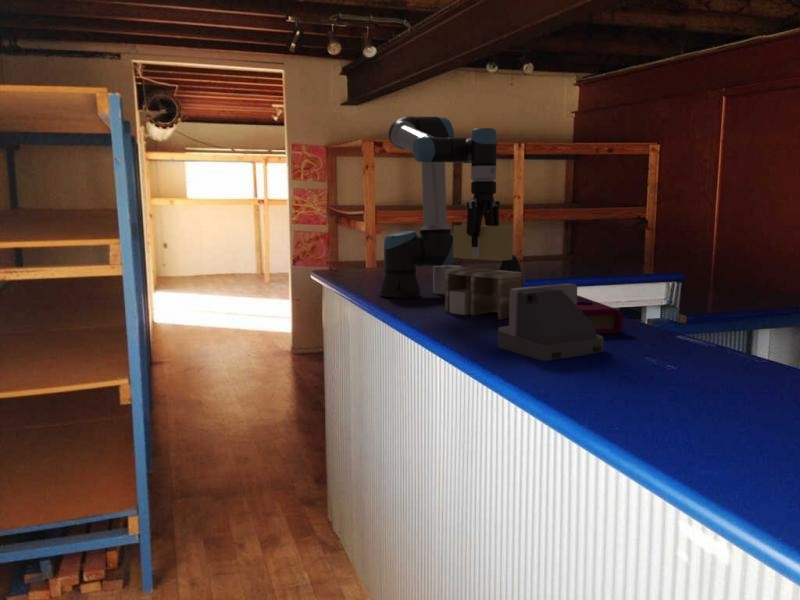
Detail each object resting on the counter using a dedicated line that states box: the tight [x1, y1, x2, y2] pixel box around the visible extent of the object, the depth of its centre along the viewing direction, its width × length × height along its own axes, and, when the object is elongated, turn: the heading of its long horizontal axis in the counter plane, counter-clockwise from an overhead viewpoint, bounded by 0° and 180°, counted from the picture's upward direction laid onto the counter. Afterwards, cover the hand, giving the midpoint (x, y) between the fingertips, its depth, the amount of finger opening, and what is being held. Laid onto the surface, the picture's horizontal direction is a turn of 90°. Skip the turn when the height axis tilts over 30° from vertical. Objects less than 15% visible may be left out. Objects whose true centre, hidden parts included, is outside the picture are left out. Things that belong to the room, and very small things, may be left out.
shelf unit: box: [444, 266, 523, 320], centre depth 213 cm, size 22×10×13 cm, turn 46°
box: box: [448, 288, 471, 316], centre depth 215 cm, size 6×8×7 cm
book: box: [577, 294, 623, 335], centre depth 193 cm, size 21×28×8 cm
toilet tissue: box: [432, 264, 470, 295], centre depth 259 cm, size 11×12×10 cm
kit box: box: [452, 224, 514, 262], centre depth 210 cm, size 6×18×10 cm, turn 46°
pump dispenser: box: [497, 253, 525, 287], centre depth 249 cm, size 10×10×15 cm
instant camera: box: [497, 282, 605, 362], centre depth 163 cm, size 21×21×15 cm
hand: (482, 257), depth 211 cm, fingers closed on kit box, 6 cm apart
